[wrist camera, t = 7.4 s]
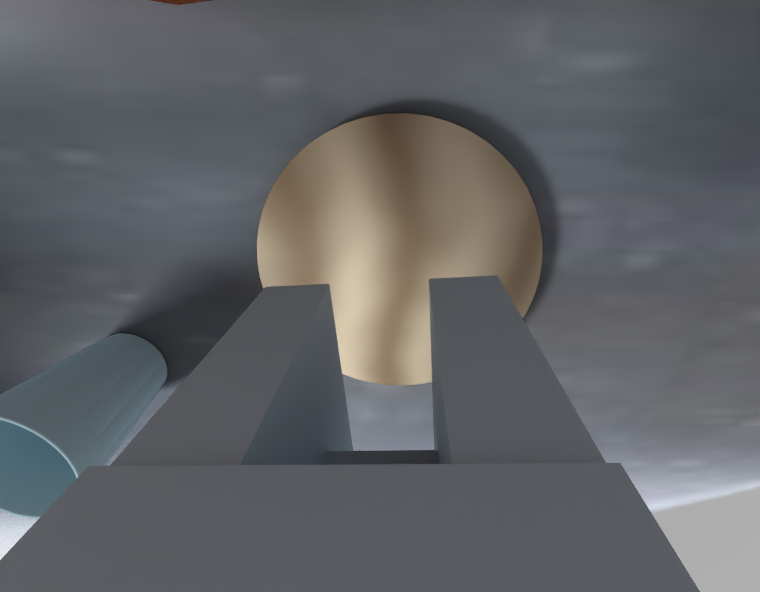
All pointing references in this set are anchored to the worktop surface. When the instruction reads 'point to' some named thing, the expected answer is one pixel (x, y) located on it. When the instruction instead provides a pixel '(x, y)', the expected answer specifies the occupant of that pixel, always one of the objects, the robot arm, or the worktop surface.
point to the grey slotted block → (354, 476)
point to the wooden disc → (397, 233)
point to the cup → (72, 419)
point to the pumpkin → (179, 1)
